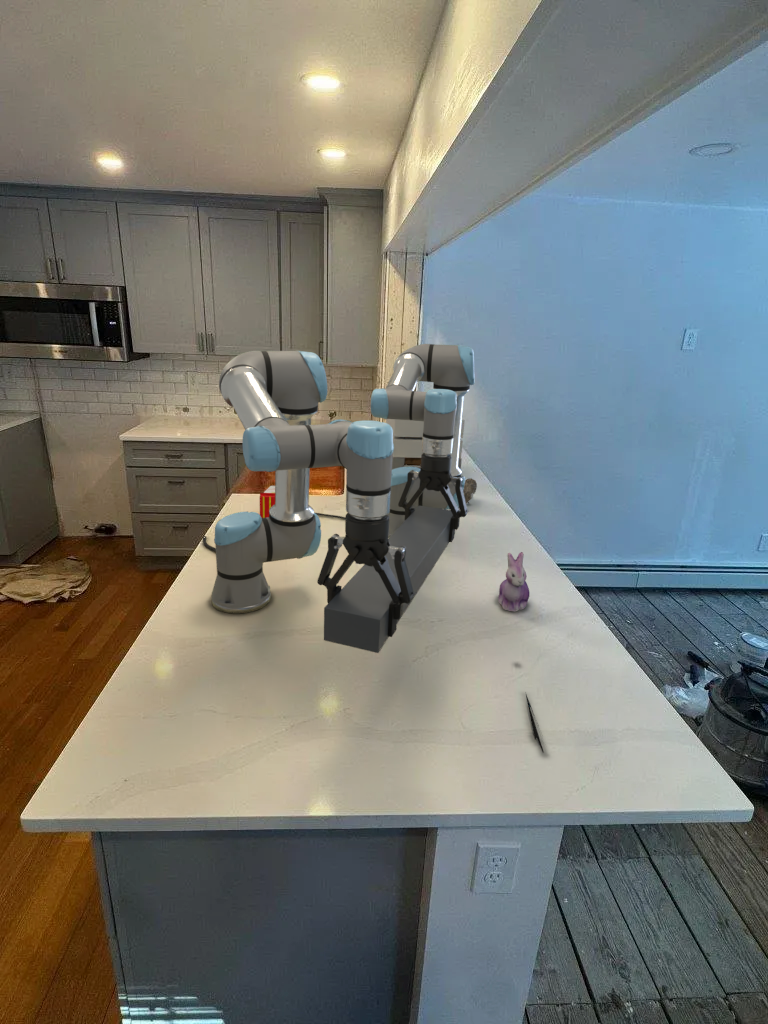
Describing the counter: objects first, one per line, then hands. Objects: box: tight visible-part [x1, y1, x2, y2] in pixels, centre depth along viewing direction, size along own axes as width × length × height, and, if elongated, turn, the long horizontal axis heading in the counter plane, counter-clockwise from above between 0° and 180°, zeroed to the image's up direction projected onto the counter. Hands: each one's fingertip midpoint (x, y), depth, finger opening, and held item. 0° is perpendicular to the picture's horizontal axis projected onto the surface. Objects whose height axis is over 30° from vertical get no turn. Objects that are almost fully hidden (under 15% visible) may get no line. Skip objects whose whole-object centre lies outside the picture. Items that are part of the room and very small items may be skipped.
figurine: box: [497, 551, 530, 612], centre depth 152 cm, size 9×10×15 cm
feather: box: [525, 691, 547, 753], centre depth 115 cm, size 2×28×2 cm
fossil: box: [458, 477, 478, 510], centre depth 233 cm, size 22×10×15 cm
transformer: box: [385, 418, 465, 471], centre depth 268 cm, size 34×33×41 cm
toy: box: [259, 485, 275, 518], centre depth 208 cm, size 12×13×30 cm
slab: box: [323, 506, 456, 654], centre depth 125 cm, size 60×10×6 cm, turn 161°
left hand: (363, 626), depth 104 cm, fingers closed on slab, 10 cm apart
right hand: (430, 536), depth 147 cm, fingers closed on slab, 10 cm apart
